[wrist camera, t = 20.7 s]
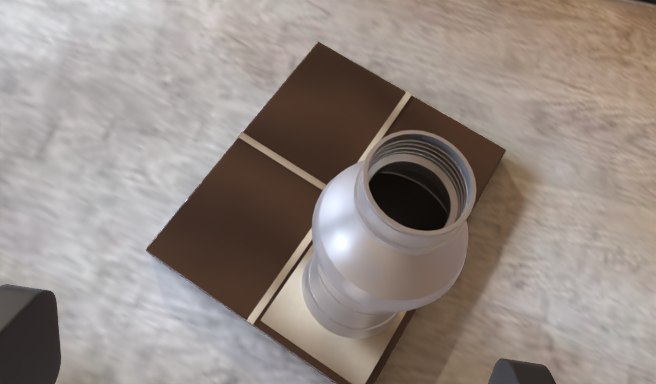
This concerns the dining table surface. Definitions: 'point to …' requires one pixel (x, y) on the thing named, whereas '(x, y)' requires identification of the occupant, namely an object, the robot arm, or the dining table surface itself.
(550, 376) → the robot arm
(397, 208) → the plastic bottle
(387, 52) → the dining table surface
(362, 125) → the board
